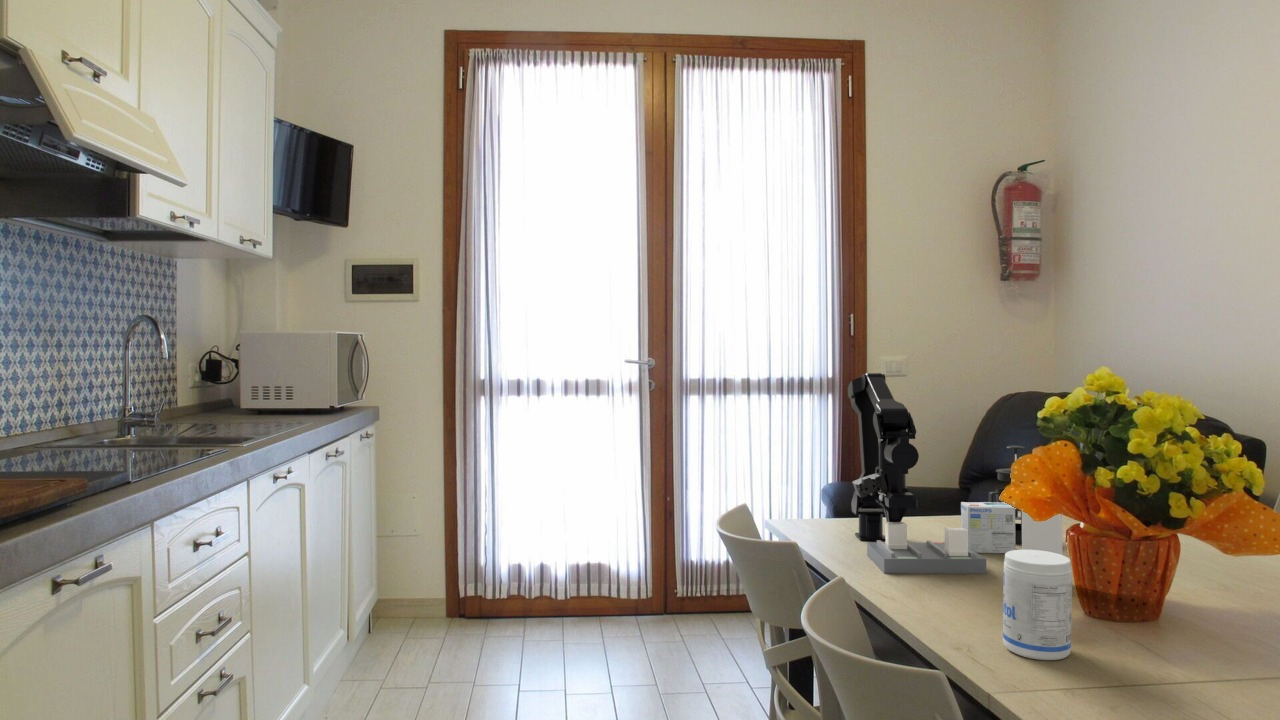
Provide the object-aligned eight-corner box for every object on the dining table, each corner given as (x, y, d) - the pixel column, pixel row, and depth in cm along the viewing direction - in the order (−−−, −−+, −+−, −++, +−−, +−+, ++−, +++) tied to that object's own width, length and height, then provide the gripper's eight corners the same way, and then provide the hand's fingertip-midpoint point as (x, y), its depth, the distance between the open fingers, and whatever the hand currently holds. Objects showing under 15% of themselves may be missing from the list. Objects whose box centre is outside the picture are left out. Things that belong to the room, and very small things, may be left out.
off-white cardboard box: (1061, 581, 167) (1061, 486, 166) (1062, 590, 160) (1062, 492, 160) (1022, 577, 170) (1022, 484, 169) (1021, 586, 163) (1021, 490, 163)
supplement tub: (992, 640, 133) (992, 548, 133) (1051, 639, 134) (1051, 548, 133) (1021, 663, 124) (1021, 564, 123) (1084, 662, 124) (1084, 563, 124)
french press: (1027, 535, 208) (1027, 443, 207) (1047, 544, 198) (1047, 447, 198) (981, 536, 207) (981, 444, 207) (999, 545, 198) (999, 448, 197)
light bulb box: (1006, 547, 196) (1006, 501, 196) (1016, 554, 189) (1016, 506, 189) (959, 546, 197) (959, 501, 197) (968, 553, 190) (968, 506, 190)
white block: (885, 546, 184) (885, 521, 184) (903, 546, 184) (903, 521, 184) (888, 549, 181) (888, 524, 181) (907, 549, 181) (907, 524, 181)
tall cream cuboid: (944, 552, 178) (944, 527, 178) (963, 552, 178) (963, 527, 178) (948, 556, 175) (948, 530, 175) (968, 556, 175) (968, 530, 175)
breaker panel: (867, 555, 188) (867, 538, 188) (961, 555, 188) (961, 538, 188) (884, 573, 173) (884, 555, 173) (986, 573, 173) (986, 555, 173)
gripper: (846, 458, 195) (847, 524, 195) (865, 469, 176) (865, 542, 177) (894, 458, 195) (895, 524, 195) (918, 469, 176) (918, 542, 176)
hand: (892, 533), depth 186 cm, fingers closed
